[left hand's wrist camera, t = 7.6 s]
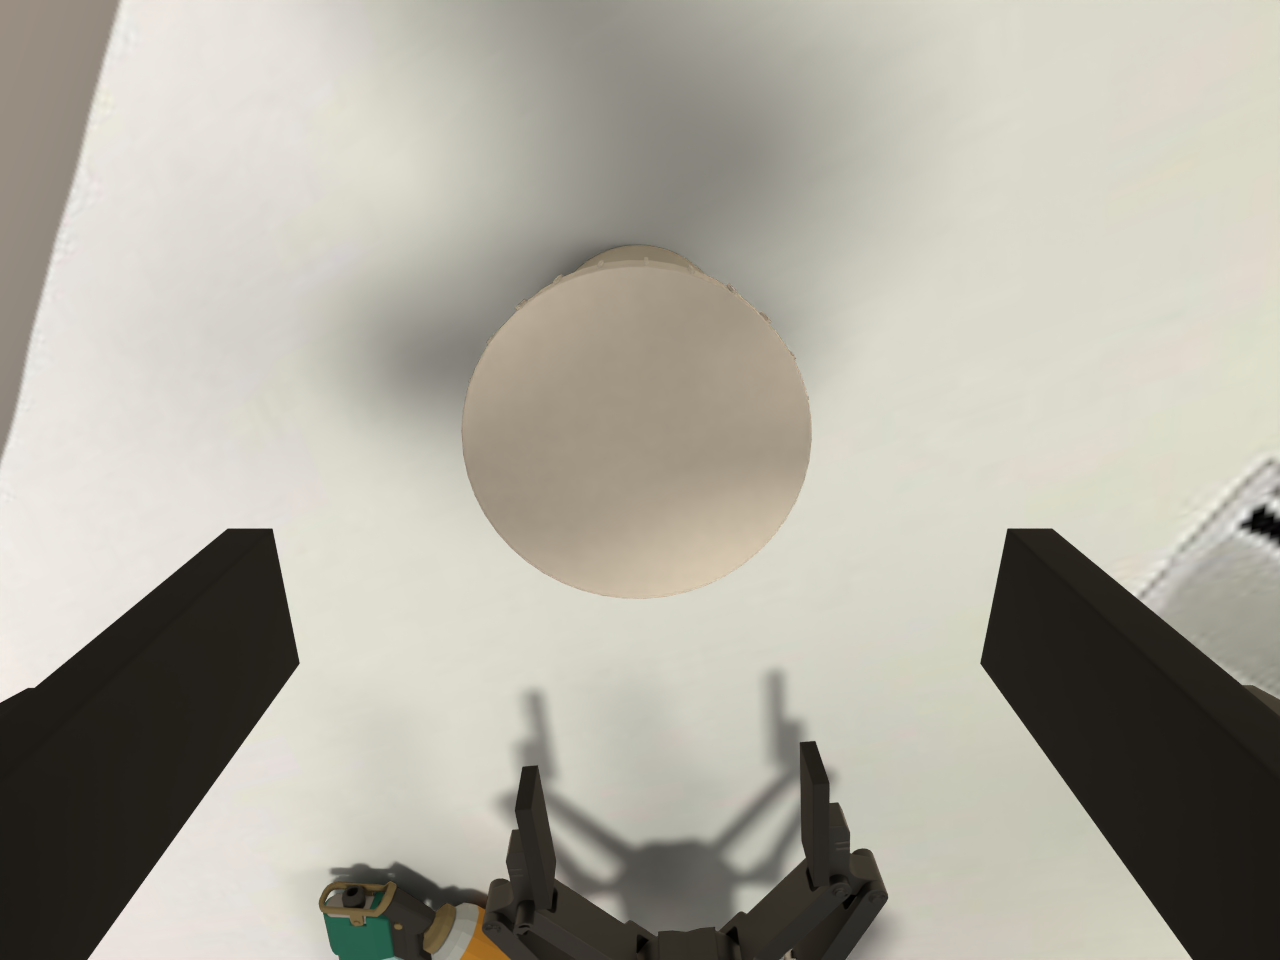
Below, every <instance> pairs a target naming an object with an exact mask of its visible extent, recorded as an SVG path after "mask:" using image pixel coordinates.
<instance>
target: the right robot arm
mask: <svg viewBox="0 0 1280 960" xmlns="http://www.w3.org/2000/svg"><path fill="white" fill-rule="evenodd" d="M800 780H801V838H802V844H803V848H804V852H805V856H806V858H805V859H804V860H803V861H802V862H801V863H800V864H799V865H798V866H797V867H796V868H795V869H794V870H793V871H792V872H791V873H790V874H789V875H787V876H786V877H785V878H784V879H783V880H782V881H781V882H780V883H779V884H778V885H777V886H776V887H775V888H774V889H773V890H772V891H771V892H770V893H769V894H768V895H766V896H765V897H764V898H763V899H762V900H761V901H760V902H759V903H758V904H757V905H756V906H755V907H754V908H753V909H752V910H751V911H750V912H749V913H748V914H746V913H744V912H739V913H738V914H736V915H735V916H734V917H733V918H732V919H731V920H730V921H729V922H728V923H727V924H726V925H725V926H724V927H723V928H722V929H721V930H720V931H719V932H717V931H715V927H709V928H700V929H696V930H692V931H689V932H681V931H661V932H658V936H657V937H656V936H654V935H653V934H651V933H650V932H648V931H647V930H645V929H643V928H642V927H640V926H639V925H637V924H636V923H634V922H633V921H628V922H626V923H625V924H623V923H622V922H620V921H619V920H617V919H616V918H614V917H612V916H611V915H609V914H608V913H606V912H605V911H603V910H602V909H600V908H599V907H597V906H596V905H594V904H593V903H591V902H590V901H588V900H587V899H585V898H584V897H582V896H581V895H579V894H578V893H576V892H574V891H573V890H571V889H570V888H568V887H567V886H565V885H564V884H562V883H561V882H559V881H558V880H556V879H555V878H554V877H555V868H556V858H555V853H554V848H553V843H552V837H551V832H550V827H549V822H548V816H547V811H546V806H545V801H544V795H543V790H542V785H541V780H540V775H539V769H538V765H537V766H525V767H522V773H521V778H520V784H519V790H518V796H517V801H516V807H515V813H516V818H517V823H518V827H519V829H517V830H512V833H511V836H510V841H509V847H508V852H507V858H506V864H507V868H508V873H509V877H510V881H508V880H506V879H496V880H494V881H492V882H491V884H490V888H489V893H488V898H487V903H486V909H485V914H484V919H483V924H482V932H483V933H484V934H485V935H486V936H487V937H488V938H489V939H490V940H491V941H492V942H493V943H494V944H495V945H496V946H497V947H498V948H499V949H500V950H501V951H502V952H503V953H504V954H505V955H506V956H507V957H509V958H510V959H511V960H779V959H780V958H782V957H784V960H845V959H846V958H847V956H848V955H849V954H850V952H851V951H852V949H853V948H854V946H855V945H856V944H857V942H858V941H859V939H860V938H861V937H862V935H863V934H864V932H865V931H866V930H867V928H868V927H869V925H870V924H871V923H872V921H873V920H874V918H875V917H876V916H877V914H878V913H879V911H880V910H881V909H882V907H883V906H884V904H885V903H886V902H887V899H888V894H887V891H886V889H885V886H884V883H883V880H882V878H881V875H880V872H879V869H878V867H877V864H876V861H875V858H874V856H873V853H872V852H871V851H870V850H868V849H858V850H856V851H854V852H853V853H852V854H851V853H850V831H849V828H848V825H847V823H846V820H845V817H844V814H843V811H842V809H841V807H840V805H839V803H829V781H828V778H827V775H826V772H825V769H824V766H823V763H822V760H821V757H820V754H819V751H818V748H817V745H816V742H815V741H810V742H800ZM791 948H792V950H790V949H791Z"/></svg>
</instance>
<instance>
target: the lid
mask: <svg viewBox="0 0 1280 960" xmlns="http://www.w3.org/2000/svg"><path fill="white" fill-rule="evenodd" d="M736 292H737V291H736V290H735V289H734V288H733V287H732V285H730V284H728V285H727V286H725V285H724V284H722V283H721V282H719V281H718V280H716V279H713V278H711V277H709V276H707V275H705V274H703V273H700V272H698V271H696V270H694V268H693V267H692V266H691V265H688V267H687V268H686V267H683V266H679V265H676V264H671V263H665V262H658V261H652V260H648V257H644V260H624V261H616V262H607V263H604V261H603V260H601V261H599V263H598V265H595V266H591V267H587V268H583V269H581V270H578V271H576V272H574V273H571V274H569V275H566V276H564V277H562V275H559V276H557V278H556V279H555V280H554V281H553V283H551V284H550V285H548V286H546V287H545V288H543V289H542V290H540V291H539V292H538V293H536V294H535V295H534V296H533V297H531V298H530V299H529V300H528V301H526V300H525V299H524V300H523V301H522V302H521V303H520V304H519V305H518V306H517V307H515V309H516V310H517V311H516V312H515V313H514V314H513V315H512V316H511V317H510V318H509V319H508V320H507V321H506V322H505V323H504V325H503V326H502V327H501V328H500V329H499V330H498V331H497V332H496V333H494V334H493V335H492V336H491V337H490V338H489V339H488V341H487V343H488V345H487V347H486V348H485V350H484V352H483V354H482V356H481V358H480V360H479V362H478V363H477V365H476V367H475V370H474V373H473V375H472V377H471V378H470V380H469V383H470V384H469V386H468V389H467V394H466V399H465V404H464V409H463V420H462V444H463V455H464V460H465V465H466V469H467V474H468V477H469V480H470V483H471V486H472V489H473V491H474V494H475V497H476V498H477V500H478V502H479V504H480V506H481V508H482V510H483V512H484V514H485V516H486V517H487V518H488V520H489V521H490V523H491V524H492V526H493V527H494V529H495V530H496V532H497V533H498V534H499V535H500V536H501V537H502V538H503V539H504V541H505V542H506V543H507V544H508V545H509V546H510V547H511V548H512V549H513V550H514V551H515V552H516V553H518V554H519V555H520V556H521V557H522V558H523V559H524V560H526V561H527V562H528V563H530V564H531V565H533V566H534V567H536V568H537V569H538V570H540V571H541V572H543V573H544V574H546V575H548V576H550V577H552V578H554V579H556V580H558V581H560V582H562V583H564V584H567V585H569V586H572V587H575V588H577V589H580V590H583V591H587V592H591V593H595V594H599V595H603V596H610V597H618V598H641V599H645V598H655V597H665V596H670V595H675V594H679V593H684V592H688V591H691V590H694V589H696V588H699V587H702V586H705V585H708V584H710V583H712V582H714V581H716V580H718V579H720V578H722V577H724V576H726V575H728V574H729V573H731V572H732V571H734V570H735V569H737V568H739V567H740V566H742V565H743V564H744V563H746V562H747V561H748V560H749V559H751V558H752V557H753V556H754V555H755V554H757V553H758V552H759V551H760V550H761V549H762V548H763V547H764V546H765V545H766V544H767V543H768V542H769V541H770V540H771V538H772V537H773V536H774V535H775V534H776V532H777V531H778V530H779V528H780V527H781V525H782V524H783V523H784V521H785V520H786V518H787V517H788V515H789V513H790V511H791V510H792V508H793V506H794V504H795V502H796V500H797V498H798V495H799V493H800V490H801V488H802V485H803V483H804V480H805V476H806V472H807V468H808V464H809V459H810V450H811V440H812V433H811V414H810V408H809V402H808V400H809V398H808V396H807V393H806V389H805V386H804V383H803V380H802V377H801V374H800V372H799V370H798V367H797V365H796V363H795V361H794V360H795V359H796V358H795V356H794V355H793V354H792V353H791V352H790V351H789V349H788V348H787V347H786V346H785V344H784V343H783V341H782V340H781V338H780V337H779V335H778V334H777V332H776V331H775V330H774V329H773V328H772V327H771V326H770V325H769V323H771V321H770V320H769V318H768V317H767V316H766V315H765V314H764V313H763V312H760V313H758V312H757V310H756V309H755V308H754V307H753V306H752V305H750V304H749V303H748V302H747V301H746V300H745V299H743V298H742V297H741V296H740V295H739V294H737V293H736Z"/></svg>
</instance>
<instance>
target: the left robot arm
mask: <svg viewBox="0 0 1280 960" xmlns="http://www.w3.org/2000/svg"><path fill="white" fill-rule="evenodd" d="M299 664H300V663H299V658H298V653H297V648H296V643H295V638H294V633H293V628H292V623H291V618H290V613H289V608H288V603H287V598H286V593H285V588H284V583H283V578H282V573H281V568H280V564H279V559H278V554H277V549H276V544H275V539H274V534H273V529H227V530H226V531H224V532H223V533H222V534H221V535H219V536H218V537H217V538H216V539H215V540H213V541H212V542H211V543H210V544H209V545H207V546H206V547H205V548H204V549H202V550H201V551H200V552H199V553H198V554H196V555H195V556H194V557H193V558H192V559H190V560H189V561H188V562H187V563H185V564H184V565H183V566H182V567H181V568H179V569H178V570H177V571H176V572H175V573H173V574H172V575H171V576H170V577H169V578H167V579H166V580H165V581H164V582H162V583H161V584H160V585H159V586H158V587H156V588H155V589H154V590H153V591H152V592H150V593H149V594H148V595H147V596H145V597H144V598H143V599H142V600H141V601H139V602H138V603H137V604H136V605H135V606H133V607H132V608H131V609H130V610H128V611H127V612H126V613H125V614H124V615H122V616H121V617H120V618H119V619H118V620H116V621H115V622H114V623H113V624H112V625H110V626H109V627H108V628H107V629H105V630H104V631H103V632H102V633H101V634H99V635H98V636H97V637H96V638H95V639H93V640H92V641H91V642H90V643H88V644H87V645H86V646H85V647H84V648H82V649H81V650H80V651H79V652H78V653H76V654H75V655H74V656H73V657H71V658H70V659H69V660H68V661H67V662H65V663H64V664H63V665H62V666H61V667H59V668H58V669H57V670H56V671H54V672H53V673H52V674H51V675H50V676H48V677H47V678H46V679H45V680H44V681H42V682H41V683H40V684H39V685H38V686H36V687H35V688H27V689H25V690H23V691H21V692H20V693H18V694H16V695H14V696H12V697H10V698H8V699H7V700H5V701H3V702H1V703H0V960H87V959H88V958H89V957H90V955H91V954H92V952H93V951H94V950H95V948H96V947H97V945H98V944H99V943H100V941H101V940H102V938H103V937H104V936H105V934H106V933H107V932H108V930H109V929H110V927H111V926H112V925H113V923H114V922H115V920H116V919H117V918H118V916H119V915H120V913H121V912H122V911H123V909H124V908H125V906H126V905H127V904H128V902H129V901H130V899H131V898H132V897H133V895H134V894H135V892H136V891H137V890H138V888H139V887H140V885H141V884H142V883H143V881H144V880H145V879H146V877H147V876H148V874H149V873H150V872H151V870H152V869H153V867H154V866H155V865H156V863H157V862H158V860H159V859H160V858H161V856H162V855H163V853H164V852H165V851H166V849H167V848H168V846H169V845H170V844H171V842H172V841H173V839H174V838H175V837H176V835H177V834H178V832H179V831H180V830H181V828H182V827H183V825H184V824H185V823H186V821H187V820H188V819H189V817H190V816H191V814H192V813H193V812H194V810H195V809H196V807H197V806H198V805H199V803H200V802H201V800H202V799H203V798H204V796H205V795H206V793H207V792H208V791H209V789H210V788H211V786H212V785H213V784H214V782H215V781H216V779H217V778H218V777H219V775H220V774H221V772H222V771H223V770H224V768H225V767H226V766H227V764H228V763H229V761H230V760H231V759H232V757H233V756H234V754H235V753H236V752H237V750H238V749H239V747H240V746H241V745H242V743H243V742H244V740H245V739H246V738H247V736H248V735H249V733H250V732H251V731H252V729H253V728H254V726H255V725H256V724H257V722H258V721H259V719H260V718H261V717H262V715H263V714H264V713H265V711H266V710H267V708H268V707H269V706H270V704H271V703H272V701H273V700H274V699H275V697H276V696H277V694H278V693H279V692H280V690H281V689H282V687H283V686H284V685H285V683H286V682H287V680H288V679H289V678H290V676H291V675H292V673H293V672H294V671H295V669H296V668H297V666H298V665H299ZM980 664H981V665H982V666H983V668H984V669H985V671H986V672H987V673H988V675H989V676H990V678H991V679H992V680H993V682H994V683H995V685H996V686H997V687H998V689H999V690H1000V692H1001V693H1002V694H1003V696H1004V697H1005V699H1006V700H1007V701H1008V703H1009V704H1010V706H1011V707H1012V708H1013V710H1014V711H1015V713H1016V714H1017V715H1018V717H1019V718H1020V719H1021V721H1022V722H1023V724H1024V725H1025V726H1026V728H1027V729H1028V731H1029V732H1030V733H1031V735H1032V736H1033V738H1034V739H1035V740H1036V742H1037V743H1038V745H1039V746H1040V747H1041V749H1042V750H1043V752H1044V753H1045V754H1046V756H1047V757H1048V759H1049V760H1050V761H1051V763H1052V764H1053V766H1054V767H1055V768H1056V770H1057V771H1058V772H1059V774H1060V775H1061V777H1062V778H1063V779H1064V781H1065V782H1066V784H1067V785H1068V786H1069V788H1070V789H1071V791H1072V792H1073V793H1074V795H1075V796H1076V798H1077V799H1078V800H1079V802H1080V803H1081V805H1082V806H1083V807H1084V809H1085V810H1086V812H1087V813H1088V814H1089V816H1090V817H1091V819H1092V820H1093V821H1094V823H1095V824H1096V826H1097V827H1098V828H1099V830H1100V831H1101V832H1102V834H1103V835H1104V837H1105V838H1106V839H1107V841H1108V842H1109V844H1110V845H1111V846H1112V848H1113V849H1114V851H1115V852H1116V853H1117V855H1118V856H1119V858H1120V859H1121V860H1122V862H1123V863H1124V865H1125V866H1126V867H1127V869H1128V870H1129V872H1130V873H1131V874H1132V876H1133V877H1134V879H1135V880H1136V881H1137V883H1138V884H1139V885H1140V887H1141V888H1142V890H1143V891H1144V892H1145V894H1146V895H1147V897H1148V898H1149V899H1150V901H1151V902H1152V904H1153V905H1154V906H1155V908H1156V909H1157V911H1158V912H1159V913H1160V915H1161V916H1162V918H1163V919H1164V920H1165V922H1166V923H1167V925H1168V926H1169V927H1170V929H1171V930H1172V932H1173V933H1174V934H1175V936H1176V937H1177V938H1178V940H1179V941H1180V943H1181V944H1182V945H1183V947H1184V948H1185V950H1186V951H1187V952H1188V954H1189V955H1190V957H1191V958H1192V959H1193V960H1280V700H1279V699H1277V698H1276V697H1274V696H1272V695H1270V694H1268V693H1266V692H1264V691H1262V690H1261V689H1259V688H1257V687H1255V686H1253V685H1241V684H1240V683H1239V682H1238V681H1236V680H1235V679H1234V678H1233V677H1232V676H1230V675H1229V674H1228V673H1227V672H1225V671H1224V670H1223V669H1222V668H1221V667H1219V666H1218V665H1217V664H1216V663H1215V662H1213V661H1212V660H1211V659H1210V658H1209V657H1207V656H1206V655H1205V654H1204V653H1202V652H1201V651H1200V650H1199V649H1198V648H1196V647H1195V646H1194V645H1193V644H1192V643H1190V642H1189V641H1188V640H1187V639H1185V638H1184V637H1183V636H1182V635H1181V634H1179V633H1178V632H1177V631H1176V630H1175V629H1173V628H1172V627H1171V626H1170V625H1168V624H1167V623H1166V622H1165V621H1164V620H1162V619H1161V618H1160V617H1159V616H1158V615H1156V614H1155V613H1154V612H1153V611H1152V610H1150V609H1149V608H1148V607H1147V606H1145V605H1144V604H1143V603H1142V602H1141V601H1139V600H1138V599H1137V598H1136V597H1135V596H1133V595H1132V594H1131V593H1130V592H1128V591H1127V590H1126V589H1125V588H1124V587H1122V586H1121V585H1120V584H1119V583H1118V582H1116V581H1115V580H1114V579H1113V578H1111V577H1110V576H1109V575H1108V574H1107V573H1105V572H1104V571H1103V570H1102V569H1101V568H1099V567H1098V566H1097V565H1096V564H1095V563H1093V562H1092V561H1091V560H1090V559H1088V558H1087V557H1086V556H1085V555H1084V554H1082V553H1081V552H1080V551H1079V550H1078V549H1076V548H1075V547H1074V546H1073V545H1071V544H1070V543H1069V542H1068V541H1067V540H1065V539H1064V538H1063V537H1062V536H1061V535H1059V534H1058V533H1057V532H1056V531H1054V530H1053V529H1007V534H1006V539H1005V544H1004V549H1003V554H1002V559H1001V564H1000V568H999V573H998V578H997V583H996V588H995V593H994V598H993V603H992V608H991V613H990V618H989V623H988V628H987V633H986V638H985V643H984V648H983V653H982V658H981V663H980Z"/></svg>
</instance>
